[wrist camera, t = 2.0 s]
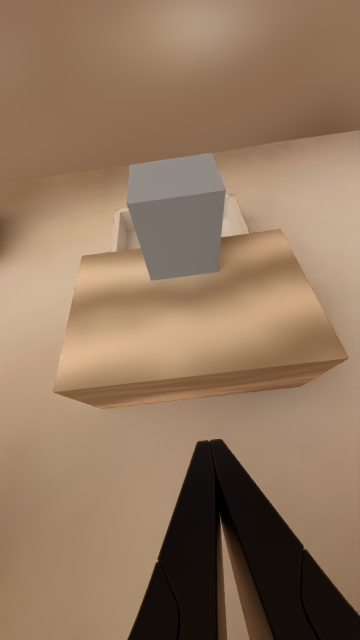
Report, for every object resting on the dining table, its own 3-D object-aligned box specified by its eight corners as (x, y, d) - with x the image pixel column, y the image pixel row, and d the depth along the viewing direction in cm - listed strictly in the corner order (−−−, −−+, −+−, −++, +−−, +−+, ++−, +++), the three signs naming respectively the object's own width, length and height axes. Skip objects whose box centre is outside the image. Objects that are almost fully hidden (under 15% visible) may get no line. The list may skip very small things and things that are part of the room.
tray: (254, 287, 27) (262, 265, 24) (118, 305, 28) (106, 285, 24) (230, 217, 35) (233, 193, 31) (123, 232, 35) (115, 209, 32)
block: (217, 272, 19) (225, 190, 13) (150, 280, 19) (126, 204, 13) (208, 235, 21) (211, 152, 15) (150, 243, 21) (129, 164, 15)
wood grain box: (299, 386, 21) (348, 358, 14) (100, 408, 21) (52, 392, 14) (260, 282, 27) (280, 229, 21) (111, 301, 28) (81, 256, 21)
